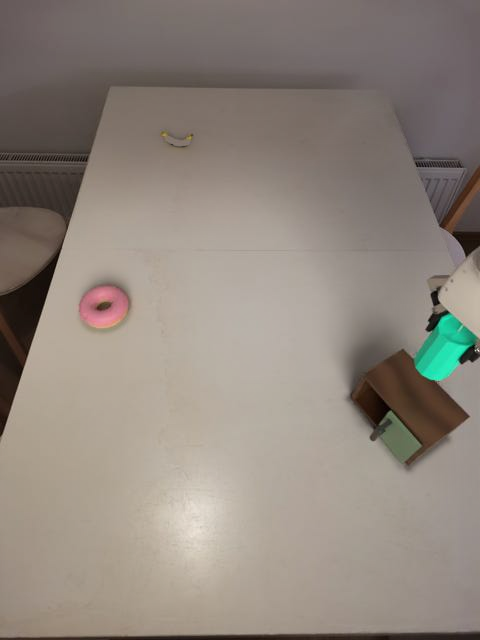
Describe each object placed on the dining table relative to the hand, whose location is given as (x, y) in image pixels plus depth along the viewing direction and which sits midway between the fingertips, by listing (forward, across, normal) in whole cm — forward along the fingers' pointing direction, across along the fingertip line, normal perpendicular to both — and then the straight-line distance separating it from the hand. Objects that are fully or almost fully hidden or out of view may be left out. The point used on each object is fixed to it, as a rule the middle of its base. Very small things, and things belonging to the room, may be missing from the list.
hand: (449, 342), depth 66 cm
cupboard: (+24, -1, +2) cm, 24 cm away
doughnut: (+24, +52, +40) cm, 71 cm away
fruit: (+24, +100, -3) cm, 103 cm away
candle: (+7, 0, 0) cm, 7 cm away
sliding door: (+24, -5, +9) cm, 26 cm away
